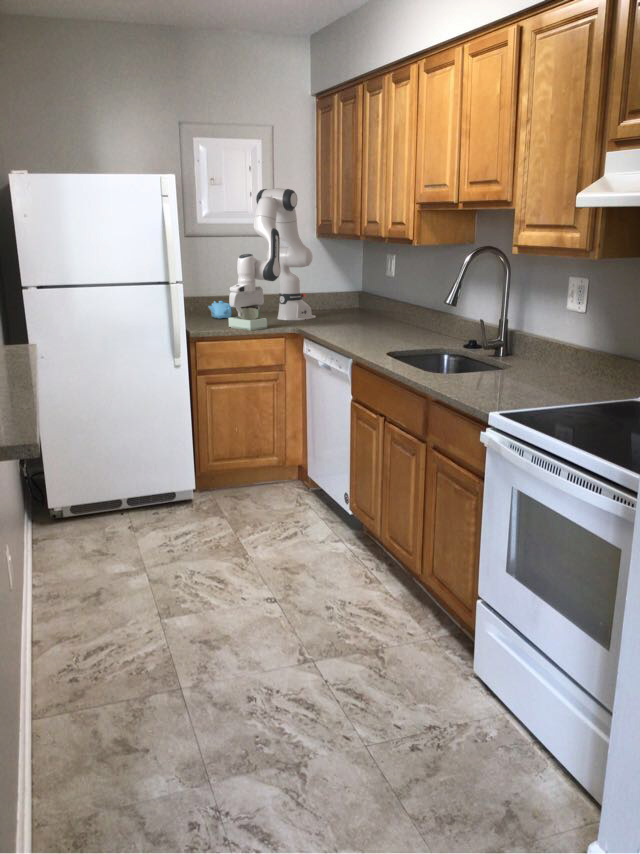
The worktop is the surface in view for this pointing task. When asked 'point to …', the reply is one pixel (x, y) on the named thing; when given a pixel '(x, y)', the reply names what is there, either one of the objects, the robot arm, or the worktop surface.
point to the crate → (247, 323)
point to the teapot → (220, 310)
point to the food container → (250, 312)
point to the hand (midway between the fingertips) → (247, 315)
